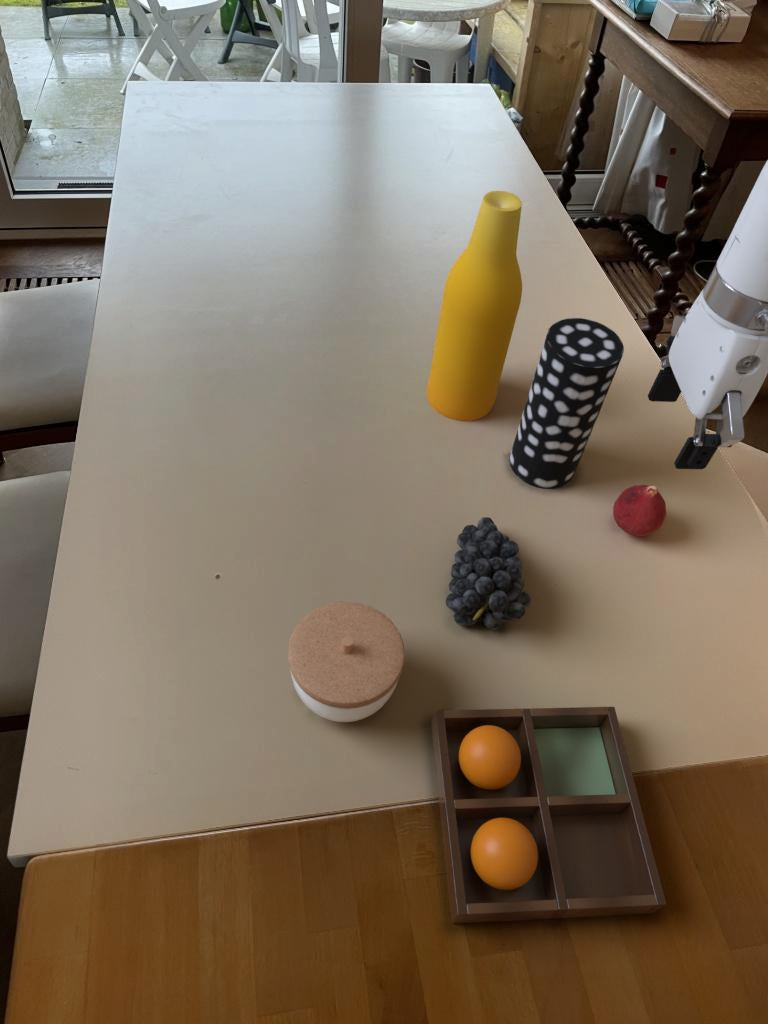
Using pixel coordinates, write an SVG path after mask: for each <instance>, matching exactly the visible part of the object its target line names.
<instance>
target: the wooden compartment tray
mask: <svg viewBox="0 0 768 1024" xmlns="http://www.w3.org/2000/svg"><path fill="white" fill-rule="evenodd" d="M484 725H492V726H497V727H500V728H502V729H504V730H506V731H507V732H508V733H510V734H511V735H512V736H513V738H514V739H515V740H516V742H517V744H518V746H519V749H520V753H521V764H520V768H519V771H518V773H517V775H516V777H515V778H514V779H513V781H512V782H511V783H509V784H508V785H506V786H505V787H503V788H500V789H496V790H486V789H482V788H479V787H477V786H475V785H474V784H472V783H471V782H470V781H469V780H468V779H467V778H466V777H465V775H464V774H463V772H462V770H461V767H460V764H459V749H460V746H461V743H462V741H463V739H464V738H465V736H466V735H467V734H468V733H469V732H470V731H472V730H473V729H475V728H477V727H480V726H484ZM430 729H431V739H432V748H433V749H432V750H433V758H434V767H435V776H436V777H435V779H436V787H437V795H438V796H437V797H438V807H439V815H440V824H441V825H440V826H441V834H442V843H443V854H444V862H445V863H444V864H445V871H446V873H445V874H446V881H447V890H448V902H449V911H450V919H451V924H453V925H455V924H472V923H473V924H475V923H491V922H492V923H493V922H512V921H534V920H551V919H571V918H572V919H573V918H591V917H610V916H612V917H613V916H628V915H629V916H632V915H651V914H654V913H656V912H658V911H659V910H660V909H662V908H663V907H665V906H667V900H666V897H665V892H664V889H663V885H662V882H661V877H660V875H659V871H658V870H659V869H658V867H657V863H656V859H655V856H654V852H653V848H652V847H653V846H652V845H651V840H650V836H649V833H648V828H647V824H646V822H645V817H644V814H643V810H642V807H641V803H640V798H639V795H638V791H637V788H636V787H637V786H636V784H635V779H634V776H633V772H632V769H631V764H630V761H629V757H628V754H627V753H628V752H627V751H626V750H627V749H626V746H625V742H624V738H623V734H622V731H621V727H620V723H619V719H618V715H617V712H616V707H615V706H587V707H586V706H585V707H584V706H583V707H577V706H576V707H541V708H539V707H537V708H495V709H494V708H491V709H489V708H488V709H454V710H453V709H450V710H449V709H448V710H443V709H442V710H441V709H439V710H434V713H433V717H432V720H431V722H430ZM495 818H510V819H513V820H516V821H518V822H519V823H521V824H522V825H524V826H525V827H526V828H527V829H528V830H529V831H530V833H531V834H532V836H533V838H534V840H535V842H536V845H537V849H538V862H537V867H536V870H535V872H534V874H533V876H532V877H531V879H530V880H529V881H528V882H527V883H526V884H524V885H523V886H521V887H519V888H517V889H513V890H499V889H496V888H493V887H491V886H490V885H488V884H487V883H485V882H484V881H483V880H482V879H481V878H480V877H479V875H478V874H477V872H476V871H475V869H474V866H473V864H472V859H471V844H472V840H473V837H474V835H475V833H476V832H477V830H478V829H479V828H480V827H481V826H482V825H483V824H484V823H486V822H487V821H489V820H492V819H495Z"/></svg>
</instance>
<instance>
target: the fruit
mask: <svg viewBox="0 0 768 1024" xmlns="http://www.w3.org/2000/svg"><path fill="white" fill-rule="evenodd" d="M456 544H457V545H458V547H459V548H460V549H459V550H457V551H456V553H455V554H454V562H455V563H454V564H452V566H451V570H450V576H451V581H450V582H449V583H448V588H449V591H450V592H451V593H449V594H448V595H447V596H446V598H445V605H446V607H447V608H448V609H450V610H451V611H452V612H453V619H454V622H455V623H456V624H457V625H458V626H461V627H469V626H470V627H471V626H473V625H474V624H476V623H478V622H480V623H481V622H483V624H484V626H485V627H486V628H487V629H489V630H491V631H496V630H499V629H500V628H502V626H503V624H504V623H509V622H511V621H513V620H514V619H515V620H520V619H521V618H523V616H525V614H526V608H527V607H529V606H530V604H531V602H532V597H531V596H530V594H529V592H526V591H524V587H525V582H524V578H522V577H523V573H522V571H523V570H522V569H523V561H522V560H521V558H520V557H519V556H517V555H518V554H519V552H520V546H519V545H518V543H517V542H515V541H514V540H511V539H510V537H509V536H507V535H505V534H503V533H502V532H501V531H499V529H498V527H497V524H495V522H494V521H493V519H492V517H488V516H484V517H483V516H482V517H481V518H480V519H479V520H478V521H477V526H476V525H474V524H467V525H466V526H464V528H463V529H462V532H461V533H460V534H458V536H457V538H456Z"/></svg>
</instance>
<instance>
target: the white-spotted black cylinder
mask: <svg viewBox="0 0 768 1024" xmlns="http://www.w3.org/2000/svg"><path fill="white" fill-rule="evenodd" d="M545 336H546V337H545V339H544V342H543V345H542V349H541V353H540V355H539V359H538V362H537V365H536V369H535V371H534V375H533V378H532V382H531V385H530V389H529V392H528V395H527V398H526V401H525V405H524V408H523V411H522V415H521V419H520V421H519V424H518V428H517V431H516V434H515V438H514V440H513V445H512V447H511V451H510V454H509V460H508V461H509V465H510V468H511V470H512V472H513V473H514V474H515V476H516V477H517V478H518V479H520V480H521V481H522V482H524V483H525V484H527V485H529V486H532V487H534V488H537V489H543V490H554V489H559V488H562V487H564V486H566V485H568V484H569V483H570V482H571V481H572V479H573V478H574V477H575V473H576V472H577V469H578V466H579V464H580V461H581V459H582V456H583V453H584V452H585V449H586V446H587V445H588V441H589V439H590V437H591V434H592V432H593V429H594V427H595V424H596V421H597V419H598V417H599V414H600V412H601V409H602V407H603V405H604V402H605V401H606V398H607V395H608V393H609V390H610V387H611V385H612V383H613V380H614V378H615V375H616V373H617V370H618V368H619V366H620V363H621V361H622V359H623V357H624V356H623V355H624V352H625V347H624V343H623V340H622V339H621V338H620V336H619V334H618V333H616V332H615V331H614V330H612V329H611V328H610V327H608V326H607V325H604V324H603V323H600V322H598V321H596V320H591V319H587V318H583V317H571V318H569V317H568V318H563V319H560V320H558V321H556V322H555V323H552V325H551V326H550V327H549V328H548V330H547V332H546V335H545Z"/></svg>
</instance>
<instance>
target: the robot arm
mask: <svg viewBox="0 0 768 1024" xmlns="http://www.w3.org/2000/svg"><path fill="white" fill-rule="evenodd" d="M753 185H754V186H753V187H752V189H751V191H750V193H749V195H748V198H747V200H746V202H745V203H744V206H743V208H742V210H741V211H740V214H739V216H738V218H737V220H736V222H735V223H734V227H733V228H732V231H731V233H730V235H729V237H728V238H727V241H726V243H725V244H724V247H723V248H722V250H721V253H720V255H719V256H718V258H717V260H716V263H715V265H714V267H713V269H712V271H711V273H710V275H709V277H708V279H707V281H706V283H705V286H704V287H703V289H702V290H701V291H700V293H699V295H698V296H697V297H696V299H695V300H694V302H693V303H692V305H691V307H690V308H689V310H688V312H687V313H686V315H675V316H674V317H673V320H672V326H671V331H670V334H671V335H669V336H668V338H667V340H666V355H664V356H662V358H661V360H660V367H661V368H662V369H659V371H658V373H657V375H656V377H655V379H654V381H653V383H652V386H651V387H650V388H649V392H648V394H647V399H648V401H650V402H656V403H658V402H659V403H662V402H663V403H675V402H677V401H678V399H679V397H680V395H681V394H682V396H683V398H684V401H685V403H686V405H687V407H688V409H689V411H690V413H691V414H692V415H693V416H694V417H695V419H694V421H695V422H694V430H693V436H689V437H688V438H687V439H686V441H685V442H684V444H683V446H682V448H681V449H680V451H679V452H678V454H677V456H676V458H675V459H674V462H673V465H674V468H675V469H677V470H703V469H706V467H707V466H708V465H709V463H710V462H711V460H712V459H713V456H714V455H715V454H716V452H717V450H718V449H719V448H732V447H733V446H734V445H735V444H737V443H739V442H741V441H743V440H744V438H745V427H744V416H746V415H747V412H748V411H749V409H750V408H751V406H752V404H753V403H754V401H755V398H756V397H757V396H758V393H759V392H760V390H761V387H762V386H763V384H764V382H765V380H766V377H768V159H767V160H766V162H765V164H764V165H763V167H762V169H761V171H760V173H759V174H758V177H757V179H756V181H755V183H754V184H753ZM719 406H720V407H719ZM718 407H719V412H714V411H715V410H716V409H717V408H718ZM708 420H710V421H711V420H714V421H716V426H715V427H716V428H715V433H706V432H707V424H708Z"/></svg>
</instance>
